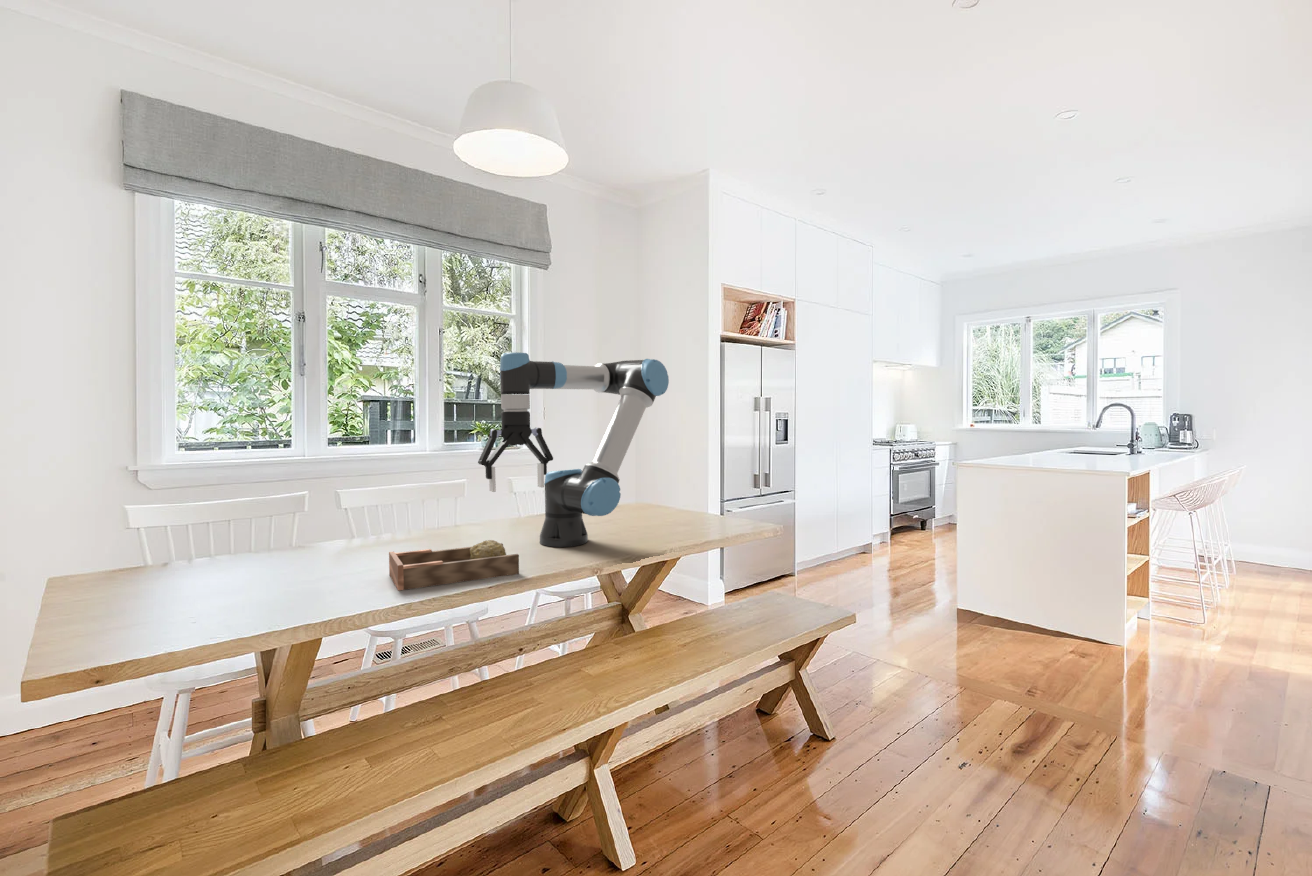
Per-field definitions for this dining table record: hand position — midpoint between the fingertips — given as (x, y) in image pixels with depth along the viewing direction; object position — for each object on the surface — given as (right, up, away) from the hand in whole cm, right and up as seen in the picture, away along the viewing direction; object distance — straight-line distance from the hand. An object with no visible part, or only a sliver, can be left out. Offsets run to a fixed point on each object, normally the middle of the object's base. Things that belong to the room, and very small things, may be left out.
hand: (517, 489), depth 168 cm
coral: (-7, -21, -4) cm, 23 cm away
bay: (-14, -21, -8) cm, 27 cm away
